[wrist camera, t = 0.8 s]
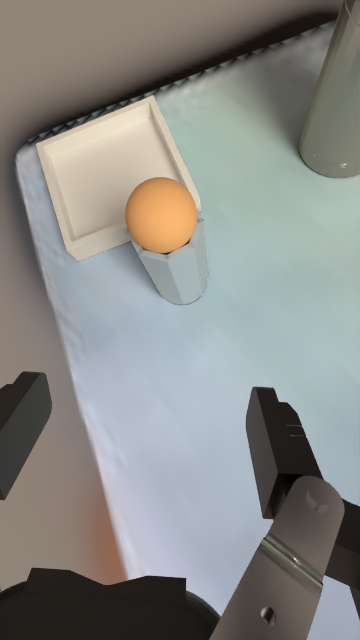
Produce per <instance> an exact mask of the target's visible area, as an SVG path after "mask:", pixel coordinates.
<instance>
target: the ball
mask: <svg viewBox="0 0 360 640" xmlns="http://www.w3.org/2000/svg"><path fill="white" fill-rule="evenodd" d="M125 220H126V225H127V228H128V230H129V233H130V234H131V236H132V238H133V239H134V240H135V241H136V242H137V243H138V244H139V245H140V246H141V247H143V248H144V249H147V250H149V251H151V252H155V253H168V252H172V251H175V250H177V249H179V248H181V247H182V246H183V245H185V244H186V243H187V242H188V241H189V239H190V238H191V236H192V234H193V233H194V230H195V227H196V223H197V209H196V204H195V201H194V199H193V197H192V195H191V194H190V192H189V191H188V190H187V189H186V188H185V187H184V186H183V185H182V184H180V183H179V182H177V181H175V180H173V179H170V178H166V177H155V178H151V179H148V180H146V181H144V182H142V183H141V184H139V185H138V186H137V187H136V188H135V189H134V190H133V191H132V193H131V195H130V196H129V198H128V201H127V204H126V209H125Z"/></svg>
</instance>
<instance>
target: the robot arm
mask: <svg viewBox="0 0 360 640" xmlns="http://www.w3.org/2000/svg"><path fill="white" fill-rule="evenodd" d="M299 151H300V155H301V157H302V159H303V161H304V162H305V163H306V164H307V166H309V167H310V168H311V169H312V170H314V171H316V172H317V173H319V174H322V175H325V176H328V177H335V178H346V177H351V176H355V175H358V174H360V0H343V3H342V6H341V9H340V13H339V16H338V19H337V22H336V25H335V28H334V32H333V35H332V38H331V41H330V44H329V47H328V51H327V54H326V57H325V60H324V63H323V67H322V70H321V73H320V76H319V79H318V82H317V86H316V89H315V92H314V95H313V98H312V101H311V105H310V107H309V110H308V114H307V117H306V120H305V123H304V126H303V130H302V133H301V136H300V139H299ZM51 409H52V401H51V396H50V391H49V386H48V382H47V377H46V374H45V373H41V372H22V373H21V374H20V375H19V376H18V378H17V379H16V380H15V382H14V383H13V384H7V385H5V386H4V387H2V388H1V389H0V500H5V499H6V497H7V495H8V493H9V491H10V489H11V488H12V486H13V484H14V482H15V480H16V478H17V476H18V475H19V473H20V471H21V469H22V467H23V465H24V463H25V461H26V460H27V458H28V456H29V454H30V452H31V450H32V448H33V447H34V445H35V443H36V441H37V439H38V438H39V436H40V434H41V432H42V430H43V428H44V426H45V425H46V423H47V421H48V419H49V417H50V414H51ZM246 432H247V438H248V443H249V448H250V453H251V459H252V464H253V469H254V474H255V480H256V485H257V490H258V495H259V500H260V506H261V511H262V516H263V519H273V521H274V522H273V524H272V526H271V528H270V530H269V532H268V533H267V535H266V537H264V538H263V540H262V541H261V543H260V545H259V547H258V548H257V550H256V552H255V554H254V556H253V558H252V560H251V562H250V564H249V565H248V567H247V569H246V571H245V573H244V575H243V577H242V579H241V581H240V582H239V584H238V586H237V588H236V590H235V592H234V594H233V596H232V598H231V599H230V601H229V603H228V605H227V607H226V609H225V611H224V613H223V615H222V617H221V616H220V615H219V614H218V613H217V612H216V611H215V610H214V609H213V608H212V607H211V606H210V605H209V604H208V603H207V602H206V601H204V600H203V599H202V598H200V597H198V596H197V595H195V594H193V593H191V592H189V591H187V590H186V578H176V577H162V576H144V577H140V578H136V579H132V580H128V581H124V582H120V583H117V584H113V585H103V584H100V583H98V582H96V581H93V580H91V579H89V578H87V577H84V576H82V575H80V574H77V573H75V572H73V571H70V570H59V569H45V568H32V569H31V571H30V574H29V577H28V579H27V581H25V582H21V583H19V584H16V585H14V586H11V587H9V588H7V589H5V590H4V591H1V586H0V640H306V639H307V636H308V633H309V630H310V627H311V624H312V621H313V618H314V615H315V612H316V609H317V605H318V602H319V599H320V596H321V593H322V589H323V583H322V580H323V577H324V575H326V576H328V577H330V578H333V579H335V580H337V581H339V582H342V583H344V584H346V585H348V586H349V587H350V590H351V593H352V597H353V600H354V603H355V606H356V609H357V613H358V616H359V619H360V506H357V505H354V504H352V503H350V502H347V501H346V500H344V499H342V498H341V497H340V495H339V493H338V492H337V491H336V490H335V489H334V487H332V486H331V485H330V484H329V483H327V482H326V481H324V479H323V477H322V475H321V472H320V470H319V467H318V465H317V462H316V460H315V457H314V455H313V452H312V449H311V447H310V444H309V442H308V439H307V438H306V434H305V432H304V429H303V428H302V424H301V422H300V419H299V417H298V414H297V413H296V412H295V410H294V409H293V408H292V407H291V406H290V405H289V404H288V403H287V402H279V401H278V398H277V395H276V392H275V390H274V388H268V387H253V388H252V391H251V396H250V401H249V405H248V410H247V415H246Z"/></svg>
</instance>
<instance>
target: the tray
mask: <svg viewBox="0 0 360 640" xmlns="http://www.w3.org/2000/svg"><path fill="white" fill-rule="evenodd" d="M36 147H37V151H38V154H39V158H40V161H41V165H42V168H43V171H44V175H45V178H46V182H47V185H48V188H49V192H50V195H51V199H52V202H53V206H54V209H55V212H56V216H57V219H58V223H59V226H60V230H61V233H62V236H63V240H64V243H65V247H66V250H67V251H68V252H69V253H70V254H71V255H72V256H73V257H74V258H75V259H76V260H77V261H78V262H79V261H82V260H84V259H87V258H89V257H92V256H94V255H97V254H99V253H102V252H104V251H107V250H109V249H112V248H114V247H117V246H119V245H121V244H124V243H126V242H129V241H131V240H130V238H129V237H128V235H127V233H126V229H127V225H126V220H125V209H126V204H127V201H128V198H129V196H130V195H131V193H132V191H133V190H134V189H135V188H136V187H137V186H138V185H139V184H141V183H142V182H144V181H146V180H148V179H151V178H155V177H166V178H170V179H173V180H175V181H177V182H179V183H180V184H182V185H183V186H184V187H185V188H186V189H187V190H188V191H189V192H190V194H191V195H192V197H193V199H194V201H195V204H196V208H197V210H198V211H199V213H201V207H200V197H199V195H198V193H197V190H196V188H195V186H194V184H193V182H192V179H191V177H190V175H189V173H188V171H187V168H186V166H185V164H184V162H183V160H182V158H181V155H180V153H179V151H178V149H177V147H176V144H175V142H174V140H173V138H172V136H171V133H170V131H169V129H168V127H167V125H166V122H165V120H164V118H163V116H162V114H161V111H160V109H159V107H158V105H157V103H156V100H155V98H154V96H150V97H148V98H146V99H143V100H141V101H138V102H136V103H133V104H131V105H129V106H126V107H124V108H121V109H119V110H117V111H114V112H112V113H109V114H107V115H105V116H102V117H100V118H97V119H95V120H92V121H90V122H88V123H85V124H83V125H80V126H78V127H76V128H73V129H71V130H68V131H66V132H64V133H61V134H59V135H56V136H54V137H51V138H49V139H47V140H44V141H42V142H39V143H37V144H36Z"/></svg>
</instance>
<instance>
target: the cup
mask: <svg viewBox="0 0 360 640" xmlns="http://www.w3.org/2000/svg"><path fill="white" fill-rule="evenodd" d="M196 209H197V208H196ZM126 233H127V235H128V237H129V238H130V240H131V242H132V244H133V246H134V248H135V249H136V251H137V253H138V256H139V258H140V259H141V261H142V263H143V264H144V266H145V268H146V270H147V271H148V273H149V275H150V277H151V278H152V280H153V282H154V284H155V285H156V287H157V289H158V291H159V292H160V294H161V296H162V297H163V299H165V300H167V301H168V302H170V303H172V304H176V305H188V304H191V303H193V302H195V301H196V300H198V299H199V298H200V297H201V296H202V294H203V293H204V291H205V289H206V285H207V278H208V275H209V273H208V261H207V250H206V238H205V226H204V219H203V218H202V216H201V215H200V213H199V211H198V210H197V223H196V227H195V230H194V233H193V234H192V236H191V238H190V239H189V241H188V242H187V243H186V244H185V245H183V246H182V247H181V248H179V249H177V250H175V251H172V252H168V253H155V252H151V251H149V250H147V249H144V248H143V247H141V246H140V245H139V244H138V243H137V242H136V241H135V240H134V239H133V238H132V236H131V234H130V233H129V230H128V228H127V229H126Z"/></svg>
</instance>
